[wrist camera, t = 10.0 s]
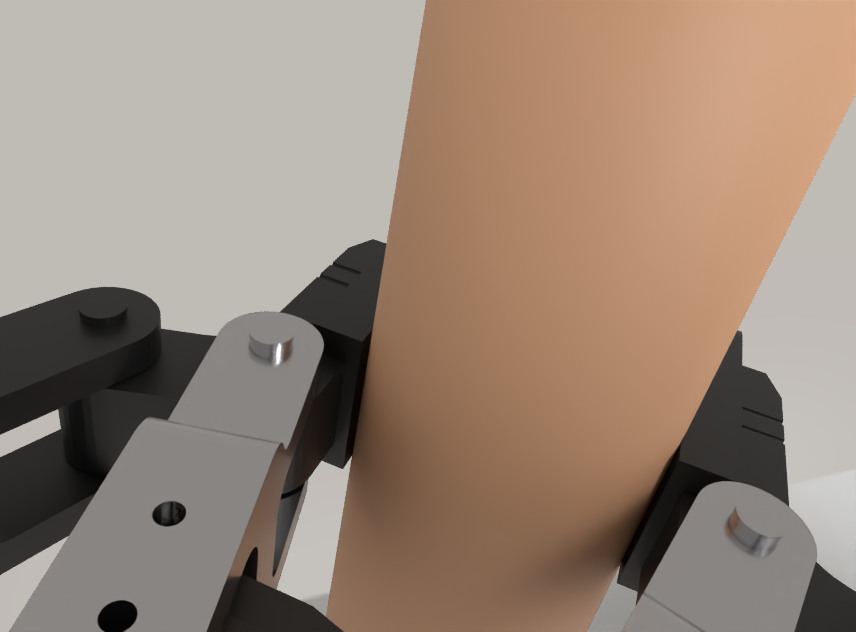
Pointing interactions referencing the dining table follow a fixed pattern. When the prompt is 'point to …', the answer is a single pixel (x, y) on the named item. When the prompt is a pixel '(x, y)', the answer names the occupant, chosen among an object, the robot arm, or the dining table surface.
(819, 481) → the dining table surface
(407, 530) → the peg
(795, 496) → the dining table surface
